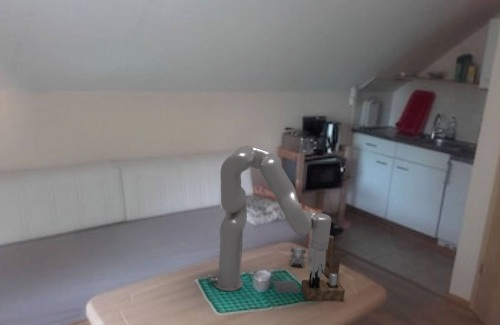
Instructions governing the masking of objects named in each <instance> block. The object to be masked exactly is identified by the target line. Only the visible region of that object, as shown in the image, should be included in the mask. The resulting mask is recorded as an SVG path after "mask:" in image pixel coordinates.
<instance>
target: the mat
mask: <svg viewBox="0 0 500 325" xmlns="http://www.w3.org/2000/svg"><path fill="white" fill-rule="evenodd" d="M272 283H273V285H274V287H275V288H274V289H275V290H276V293H278V294H281V293H284V294H286V293H289V294H291V293H293V294H294V293H295V294H296V293H297V294H298V293H301V291H300V289H299V287H298V285H297V283H296V281H295V280H272Z"/></svg>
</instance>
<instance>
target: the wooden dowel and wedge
mask: <svg viewBox="0 0 500 325" xmlns="http://www.w3.org/2000/svg"><path fill="white" fill-rule="evenodd" d="M334 238H335V237H334V236H333V235H330V234H329V242H328V249H327V250H326V260H325V269H324V272H323V273H322V274H324V275H325V276H326V277H327V279H329V278H330V273H336V274H337V280H338V281H339V273H340V271H339V270H340V263H341V257H342V251H335V252H333V248H334Z"/></svg>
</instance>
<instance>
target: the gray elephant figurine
mask: <svg viewBox="0 0 500 325" xmlns="http://www.w3.org/2000/svg"><path fill="white" fill-rule="evenodd" d="M290 252H291V253H290V255H289V257H290V258H291V259H290V260H289V263H288V266H289V267H292V266H293V265H294V264H296V265H301V268H302V269H304V268H306V265H305V263H306V262H305V260H304V259H306V258H307V257H306V255H305V254H306V252H307V249H306V248H300V247H293V246H292V247H291V248H290Z"/></svg>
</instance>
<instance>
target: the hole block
mask: <svg viewBox="0 0 500 325" xmlns="http://www.w3.org/2000/svg"><path fill="white" fill-rule="evenodd" d="M310 284H311V282H309V279H302V280H301V286H300V290H301V292H302V294H303V297H304V299H305V301H306V302H309V301H310V302H315V301H316V302H319V301H320V302H321V301H322V302H323V301H324V302H325V301H327V302H328V301H331V302H332V301H335V302H336V301H338V302H344V301H345V300H344V299H345V292H346V290H345V288H344V287H343V285H342V284H341V282H340V281H339V279H338V280H337V281H336V288H329V287H328V286H329V279H320V284H319V287H317V288H310Z"/></svg>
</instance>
